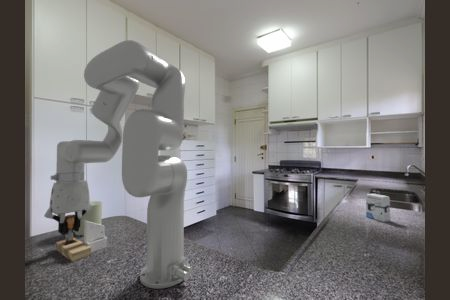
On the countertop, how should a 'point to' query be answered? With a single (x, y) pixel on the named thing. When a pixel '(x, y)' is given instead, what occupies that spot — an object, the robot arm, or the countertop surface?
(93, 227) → the white angled block
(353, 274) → the countertop surface
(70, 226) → the awl
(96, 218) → the can
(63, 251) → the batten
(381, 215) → the ink box
